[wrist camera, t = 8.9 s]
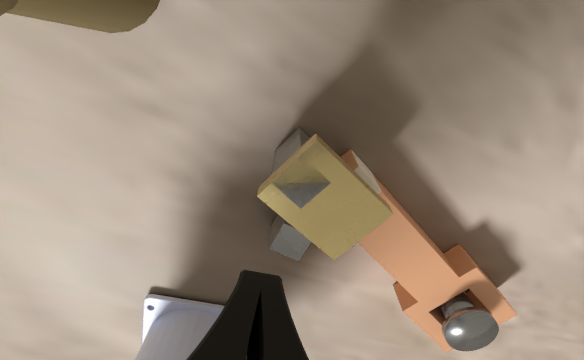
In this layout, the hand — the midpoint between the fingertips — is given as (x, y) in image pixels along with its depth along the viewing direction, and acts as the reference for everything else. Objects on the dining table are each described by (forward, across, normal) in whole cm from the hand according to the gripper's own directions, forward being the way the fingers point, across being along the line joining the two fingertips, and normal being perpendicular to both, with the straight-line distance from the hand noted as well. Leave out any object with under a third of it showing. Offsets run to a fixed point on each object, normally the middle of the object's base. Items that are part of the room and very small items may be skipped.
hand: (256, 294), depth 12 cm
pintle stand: (+10, -7, +2) cm, 13 cm away
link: (+10, -10, +3) cm, 14 cm away
